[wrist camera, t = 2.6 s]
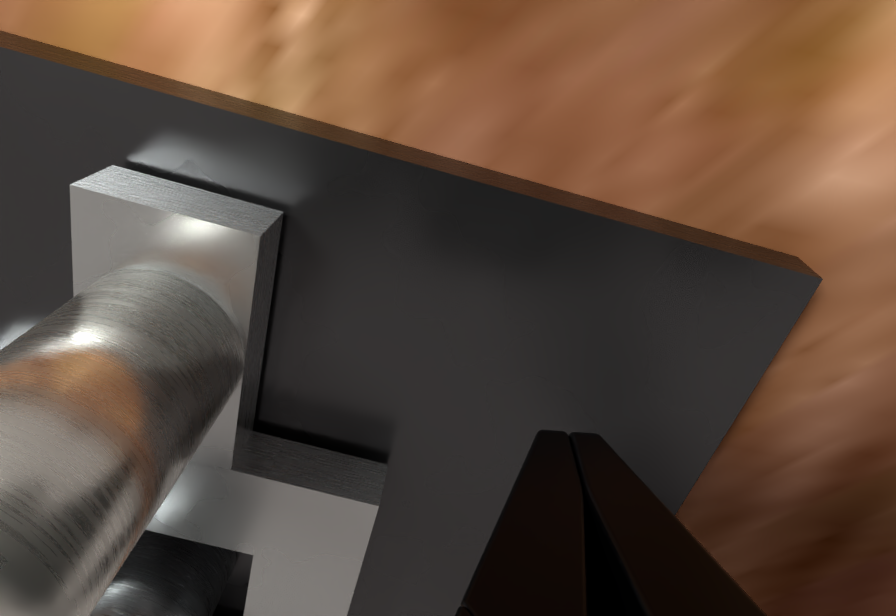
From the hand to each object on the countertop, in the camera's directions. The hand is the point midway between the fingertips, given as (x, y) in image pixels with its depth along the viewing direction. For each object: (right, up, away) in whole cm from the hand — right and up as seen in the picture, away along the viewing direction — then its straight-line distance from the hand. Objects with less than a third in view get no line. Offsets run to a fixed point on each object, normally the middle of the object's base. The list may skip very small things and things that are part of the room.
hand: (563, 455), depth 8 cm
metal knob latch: (-8, -2, +5) cm, 10 cm away
